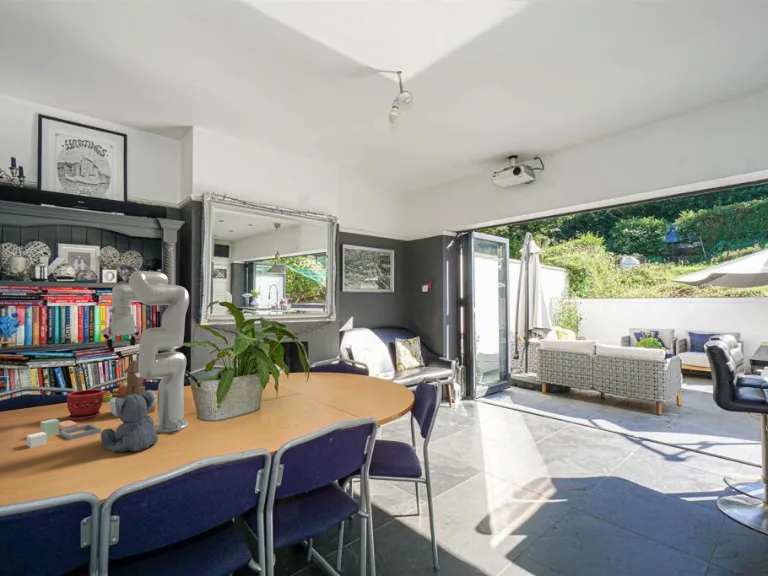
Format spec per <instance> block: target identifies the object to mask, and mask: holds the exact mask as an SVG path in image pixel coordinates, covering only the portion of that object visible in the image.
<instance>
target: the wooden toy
mask: <svg viewBox="0 0 768 576" xmlns="http://www.w3.org/2000/svg"><path fill="white" fill-rule="evenodd" d="M138 363H139V359H135V360H132V361H131V363H129V364H128V366H127V367H126V369H125V370H124V373H126V380H127V390H126V392H125V393H123V394H122V397H121V399H124V398H125V397H126V396H128V395H132V394H137V395H141V394H142V393H143V392H145V391H146V386H145V385H144V380H143V379H144V378H142V377H141V376H140V374H139V369H138ZM155 406H156V403H155V404H154V406H153V407H152V408H151V409H150V410H147V414H146V415H148V414H152V413H155V412H156V411H155V409H156V407H155Z"/></svg>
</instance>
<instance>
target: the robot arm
mask: <svg viewBox="0 0 768 576" xmlns="http://www.w3.org/2000/svg"><path fill="white" fill-rule="evenodd" d="M111 292H112V293H111V295H112V297H111V298H112V301H111V305H112V307H111V308H110V309H108V313H111V314H110V317H109V321H108V326H106V327H105V328H103V329H101V330H100V331H99V332H100V334H101V335H102V337H103V338H104V339H105V340H106V346H107V348H108V349H112V348H113V339H112V338H113V337H115V336H122V335H124V336H126V335H129V336H131V337H129V338H130V339H129V345H130V346H132V347H134V346H135V344H136V338H137V336H139V334H140V333H141V335H140V338H139V348H138V349H139V350H138V372H139V374H140V376H141V377H142V378H143V379H144V380H149V379H156V378H161V379H160V381H159V383H158V387H157V397H158V398H157V424H156V425H154V429H155V431H156V433H173V432H177V431H181V430H183V429H185V428H187V427H188V425H189V424H188V421H187V420H185V416H184V409H185V407H184V405H185V404H184V403H185V402H184V399H185V397H184V394H185V393H184V389H185V388H184V387H185V385H184V383H185V373H186V367H187V357H186V355H185V354H184V353H183V352H180V351H169V350H175V349H179V348H181V347H182V346H183V343H184V338H185V328H186V327H185V326H186V325H185V324H186V323H185V322H186V314H187V310H188V308H189V304H190V295H189V292H188V290H187V289H186V288H185V287H183V286H181V285H177V284H175V285H174V284H169V278H168V276H167V275H166V274H165V273H163V272H161V271H150V270H149V271H146V270H137V271H134V272H132V273H131V274H130V276H129V278H128V285H127V284H122V285H117V286H116V285H115V286H113V287H112V291H111ZM132 302H140V303H141V304H143V305H145V306H167V308H166V309H165V311H164V312H163V313H162V316H161V325H160V327H159V326H158V327H149V328H147V329H145V330H143V331H142V328H141V327H140V326H138V325H137V326H136V323H135V322H136V321H135V317H134V314H133V313H132ZM168 305H169V306H168ZM141 331H142V332H141ZM106 332H107V333H108V334H107V333H106ZM160 351H167V352H160ZM158 352H160V353H158Z"/></svg>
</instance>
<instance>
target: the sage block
mask: <svg viewBox="0 0 768 576" xmlns="http://www.w3.org/2000/svg"><path fill="white" fill-rule="evenodd" d="M59 422H60V420H59V419H57V418H51V419H46V420H42V421H40V424H39V425H40V426H39V427H40V429H39V430H40V432H44V433H46V434H47V437H50V436H55V435H60V429H59ZM40 432H39V433H40Z"/></svg>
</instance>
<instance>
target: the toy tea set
mask: <svg viewBox="0 0 768 576" xmlns="http://www.w3.org/2000/svg"><path fill="white" fill-rule="evenodd" d="M126 390H127V379H125V381H124V382H122V383H121V384H119V386H118V387H117V388H113V389H112V392H111V391H110V390H103V391H104V397H103V403H102V404H104V403H110V400H111V399H116V398H117V397H120V398H122V394H123V393H125V392H126ZM97 401H98V399H97ZM83 403H86V402H85V401H84V402H83Z"/></svg>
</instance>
